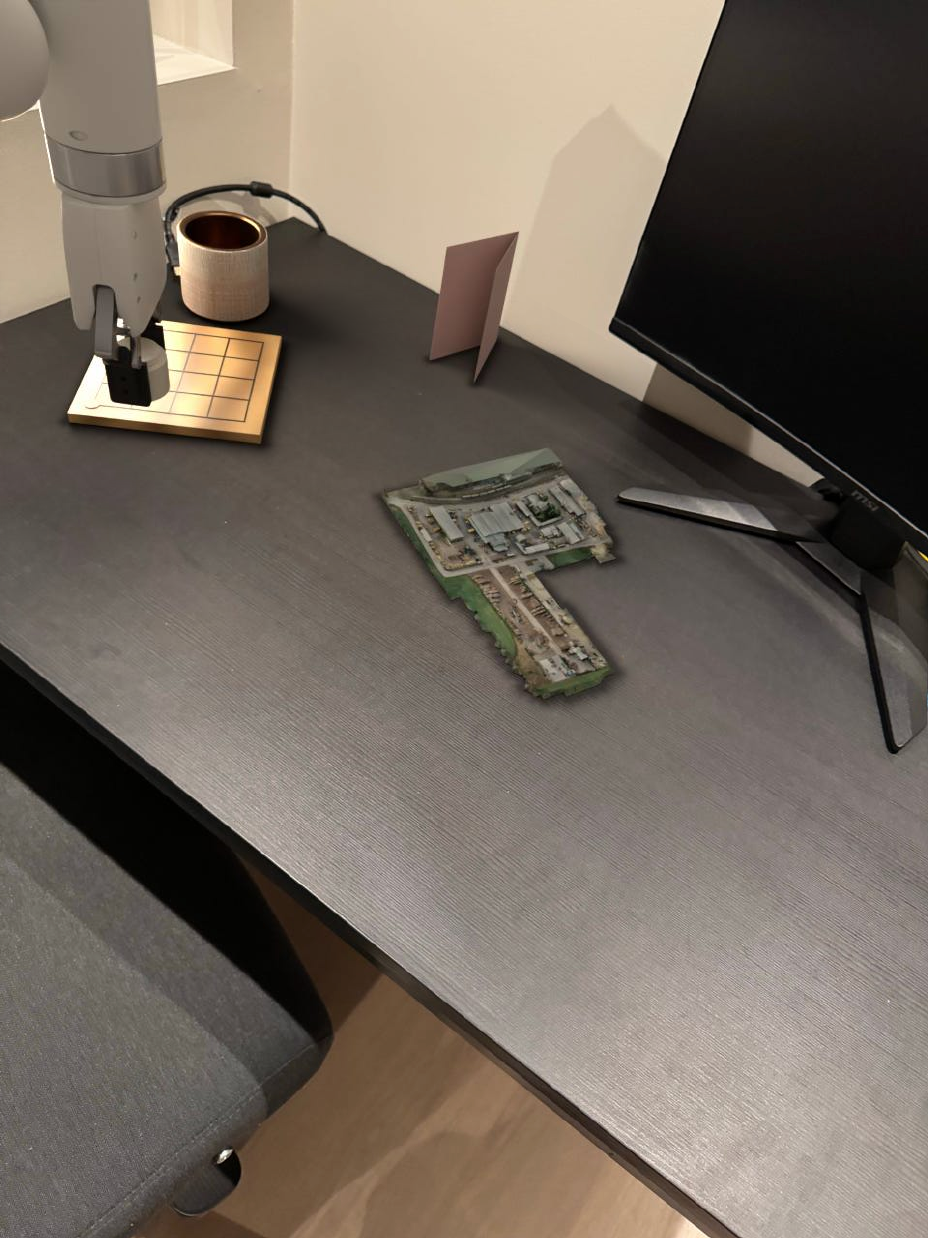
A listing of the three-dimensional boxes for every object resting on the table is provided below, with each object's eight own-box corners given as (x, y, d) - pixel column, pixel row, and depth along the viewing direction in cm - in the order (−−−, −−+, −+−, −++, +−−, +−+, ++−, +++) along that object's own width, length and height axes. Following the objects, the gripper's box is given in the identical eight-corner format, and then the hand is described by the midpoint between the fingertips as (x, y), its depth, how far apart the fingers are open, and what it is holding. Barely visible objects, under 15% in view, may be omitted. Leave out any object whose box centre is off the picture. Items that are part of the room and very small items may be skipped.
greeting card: (492, 336, 115) (514, 227, 104) (527, 365, 112) (554, 256, 100) (425, 356, 109) (441, 243, 98) (461, 387, 106) (482, 273, 95)
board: (69, 422, 90) (67, 412, 89) (115, 322, 103) (113, 313, 102) (260, 443, 93) (260, 434, 92) (281, 344, 106) (281, 335, 105)
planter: (260, 331, 107) (259, 258, 100) (173, 317, 106) (165, 242, 98) (275, 288, 114) (275, 218, 107) (193, 275, 113) (187, 202, 106)
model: (526, 712, 75) (530, 702, 74) (381, 497, 90) (382, 485, 89) (704, 643, 84) (711, 633, 83) (545, 458, 99) (549, 447, 98)
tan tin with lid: (104, 398, 70) (97, 360, 68) (119, 366, 73) (113, 329, 71) (163, 406, 71) (158, 369, 68) (176, 374, 74) (172, 337, 71)
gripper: (87, 106, 64) (121, 325, 77) (7, 203, 52) (63, 439, 66) (189, 123, 64) (205, 337, 78) (132, 223, 53) (162, 451, 67)
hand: (139, 381), depth 72 cm, fingers closed on tan tin with lid, 4 cm apart
